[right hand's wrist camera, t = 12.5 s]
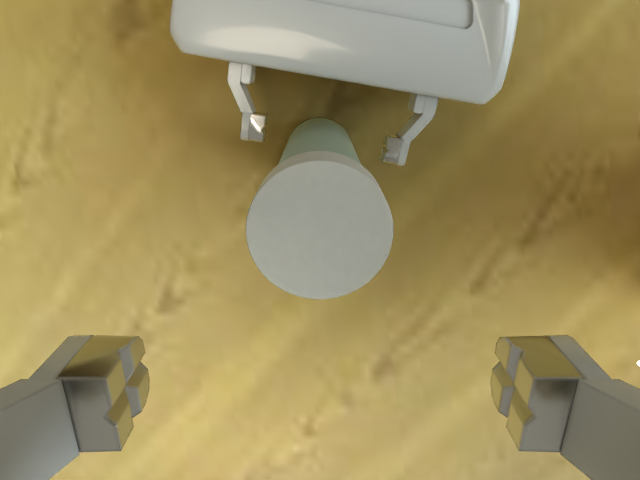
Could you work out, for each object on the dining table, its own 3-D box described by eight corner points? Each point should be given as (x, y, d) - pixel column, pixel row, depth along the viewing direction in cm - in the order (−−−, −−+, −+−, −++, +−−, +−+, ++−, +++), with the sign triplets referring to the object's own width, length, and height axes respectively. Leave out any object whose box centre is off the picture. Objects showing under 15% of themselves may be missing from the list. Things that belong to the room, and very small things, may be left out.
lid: (354, 126, 19) (358, 134, 17) (405, 247, 21) (414, 267, 19) (228, 185, 20) (218, 199, 18) (289, 295, 21) (286, 319, 19)
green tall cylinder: (336, 106, 34) (352, 145, 17) (362, 167, 36) (401, 258, 19) (275, 135, 35) (233, 200, 18) (304, 194, 37) (290, 304, 20)
